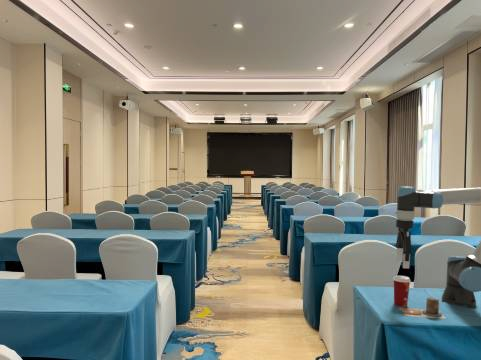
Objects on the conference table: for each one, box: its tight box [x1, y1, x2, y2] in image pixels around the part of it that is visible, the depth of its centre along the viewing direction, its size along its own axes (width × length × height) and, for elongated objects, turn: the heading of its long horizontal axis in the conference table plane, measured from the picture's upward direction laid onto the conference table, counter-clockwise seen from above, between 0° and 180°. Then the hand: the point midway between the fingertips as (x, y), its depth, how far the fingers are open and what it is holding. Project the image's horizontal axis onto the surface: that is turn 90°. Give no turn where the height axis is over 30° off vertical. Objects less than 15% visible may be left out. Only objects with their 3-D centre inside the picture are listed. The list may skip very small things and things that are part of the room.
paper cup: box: [392, 275, 411, 308], centre depth 208 cm, size 8×8×14 cm
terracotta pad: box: [401, 307, 422, 315], centre depth 197 cm, size 8×8×1 cm
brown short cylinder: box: [425, 297, 440, 315], centre depth 196 cm, size 5×5×6 cm
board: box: [399, 307, 447, 320], centre depth 197 cm, size 17×11×1 cm, turn 83°
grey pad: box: [422, 309, 443, 317], centre depth 196 cm, size 8×8×1 cm
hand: (402, 264), depth 208 cm, fingers open, 13 cm apart
